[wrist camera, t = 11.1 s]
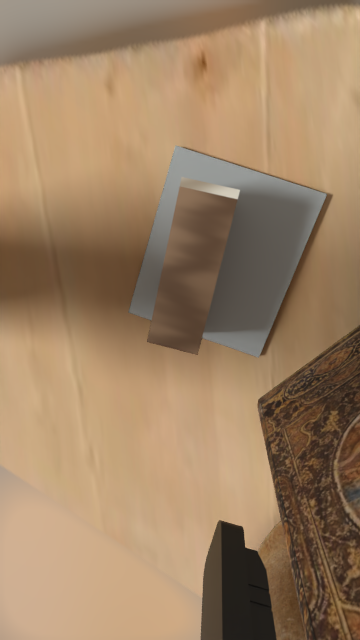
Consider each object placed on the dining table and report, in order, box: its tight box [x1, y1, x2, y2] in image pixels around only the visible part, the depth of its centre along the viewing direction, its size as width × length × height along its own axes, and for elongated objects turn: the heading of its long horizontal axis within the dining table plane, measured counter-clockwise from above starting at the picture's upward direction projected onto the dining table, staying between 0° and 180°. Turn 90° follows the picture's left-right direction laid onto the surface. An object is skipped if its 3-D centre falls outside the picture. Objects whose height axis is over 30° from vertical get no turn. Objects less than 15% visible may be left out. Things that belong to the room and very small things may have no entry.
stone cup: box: [258, 521, 306, 640], centre depth 29 cm, size 15×12×15 cm
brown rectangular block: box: [147, 177, 240, 355], centre depth 26 cm, size 4×6×12 cm
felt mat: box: [128, 146, 327, 357], centre depth 29 cm, size 13×15×1 cm
